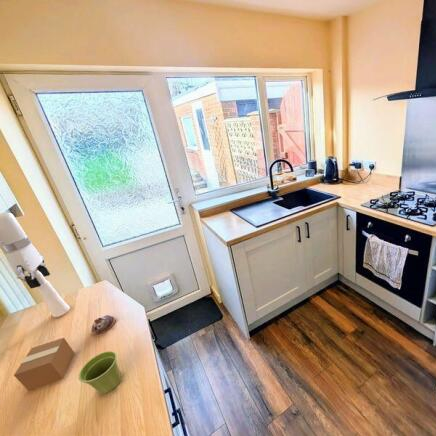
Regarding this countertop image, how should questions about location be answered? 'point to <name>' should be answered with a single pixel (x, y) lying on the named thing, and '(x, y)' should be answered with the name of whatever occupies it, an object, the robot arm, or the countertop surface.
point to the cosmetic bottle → (51, 296)
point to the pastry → (102, 324)
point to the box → (45, 364)
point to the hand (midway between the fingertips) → (40, 281)
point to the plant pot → (101, 372)
